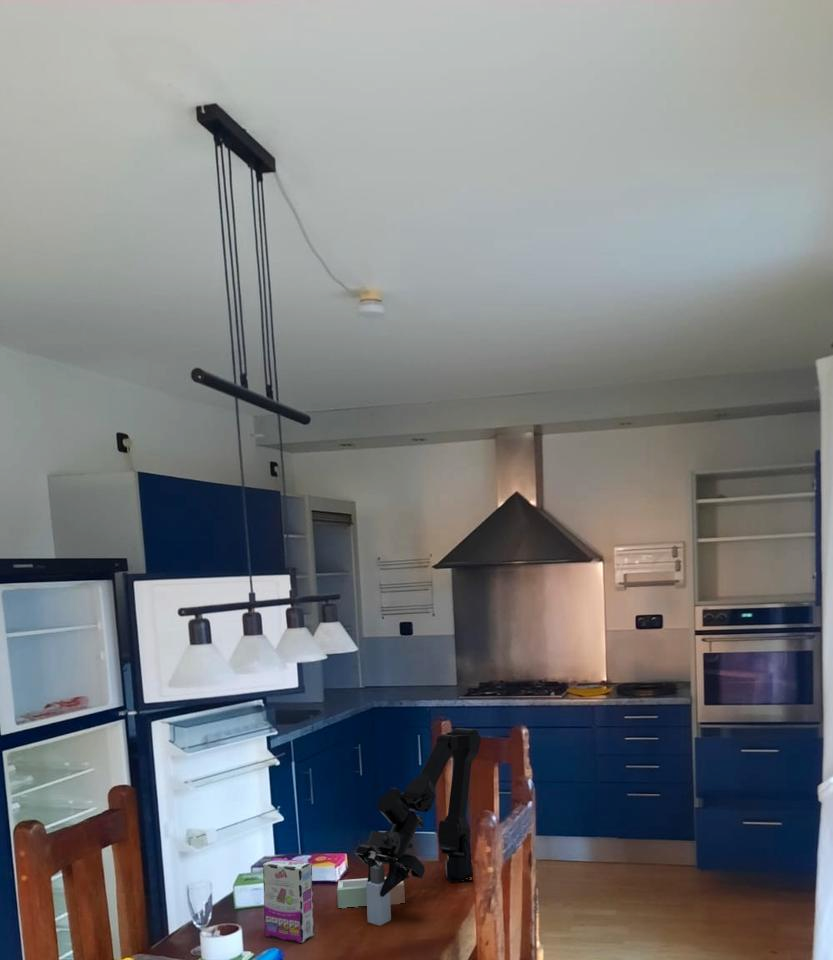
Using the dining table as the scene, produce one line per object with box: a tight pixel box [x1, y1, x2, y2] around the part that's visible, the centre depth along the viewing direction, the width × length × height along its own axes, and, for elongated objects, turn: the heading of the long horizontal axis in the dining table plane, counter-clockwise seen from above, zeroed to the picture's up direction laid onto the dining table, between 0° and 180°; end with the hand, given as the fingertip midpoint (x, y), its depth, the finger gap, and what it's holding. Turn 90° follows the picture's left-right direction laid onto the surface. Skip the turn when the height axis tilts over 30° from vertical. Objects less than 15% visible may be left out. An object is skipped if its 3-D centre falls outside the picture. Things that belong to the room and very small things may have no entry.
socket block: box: [336, 876, 406, 909], centre depth 215 cm, size 10×17×4 cm, turn 94°
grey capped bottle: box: [366, 864, 392, 926], centre depth 201 cm, size 4×4×12 cm
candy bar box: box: [262, 857, 315, 944], centre depth 195 cm, size 11×5×16 cm, turn 62°
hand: (374, 894), depth 200 cm, fingers closed on grey capped bottle, 4 cm apart
